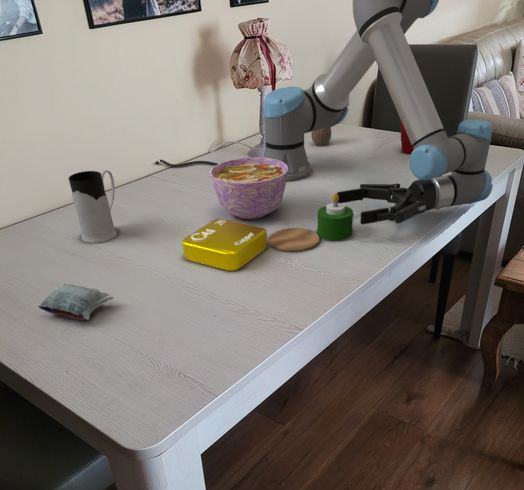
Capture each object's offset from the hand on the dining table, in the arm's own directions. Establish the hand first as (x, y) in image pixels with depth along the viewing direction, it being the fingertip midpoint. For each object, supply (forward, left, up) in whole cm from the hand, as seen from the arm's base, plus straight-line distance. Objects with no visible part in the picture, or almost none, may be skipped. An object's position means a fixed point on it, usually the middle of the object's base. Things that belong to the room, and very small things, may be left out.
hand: (348, 207), depth 127 cm
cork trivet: (-7, -12, -6) cm, 15 cm away
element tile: (-15, -26, -6) cm, 31 cm away
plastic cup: (-21, +63, -6) cm, 66 cm away
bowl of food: (-27, -6, -6) cm, 28 cm away
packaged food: (-20, -62, -6) cm, 66 cm away
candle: (-2, -3, -6) cm, 7 cm away
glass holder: (-49, -37, -6) cm, 62 cm away
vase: (-51, +53, -6) cm, 73 cm away
